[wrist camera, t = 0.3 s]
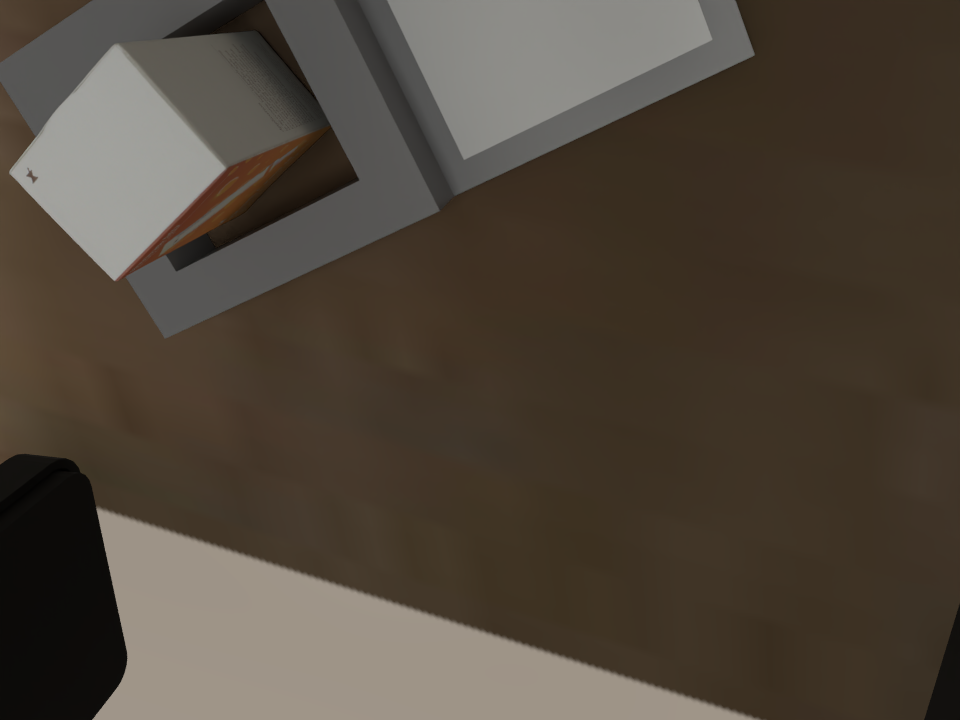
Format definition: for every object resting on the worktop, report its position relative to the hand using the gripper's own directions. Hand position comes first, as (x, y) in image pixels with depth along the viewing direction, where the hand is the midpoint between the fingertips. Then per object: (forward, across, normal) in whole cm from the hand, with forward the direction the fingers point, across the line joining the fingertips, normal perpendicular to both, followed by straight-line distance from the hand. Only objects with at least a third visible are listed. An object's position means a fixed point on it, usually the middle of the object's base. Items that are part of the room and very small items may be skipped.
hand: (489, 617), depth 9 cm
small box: (+36, +20, 0) cm, 41 cm away
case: (+36, +13, -4) cm, 38 cm away
